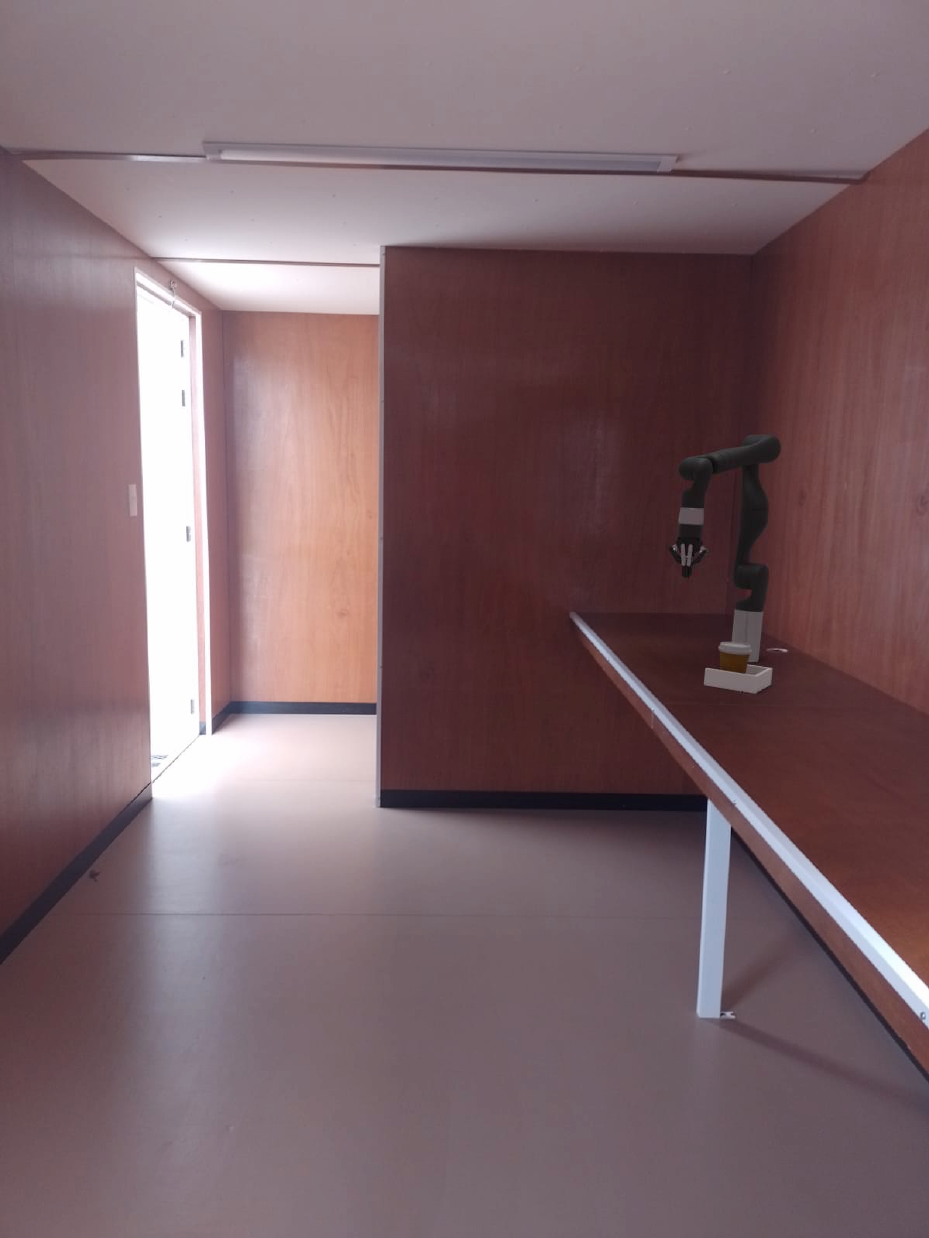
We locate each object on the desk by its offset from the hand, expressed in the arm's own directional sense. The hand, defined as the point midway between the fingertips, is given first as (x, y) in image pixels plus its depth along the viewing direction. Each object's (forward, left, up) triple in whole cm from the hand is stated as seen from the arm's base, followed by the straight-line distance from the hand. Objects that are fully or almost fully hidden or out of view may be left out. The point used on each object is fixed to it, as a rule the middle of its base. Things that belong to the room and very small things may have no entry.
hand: (686, 577), depth 282 cm
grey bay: (+11, +23, -29) cm, 38 cm away
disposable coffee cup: (+11, +21, -29) cm, 38 cm away
